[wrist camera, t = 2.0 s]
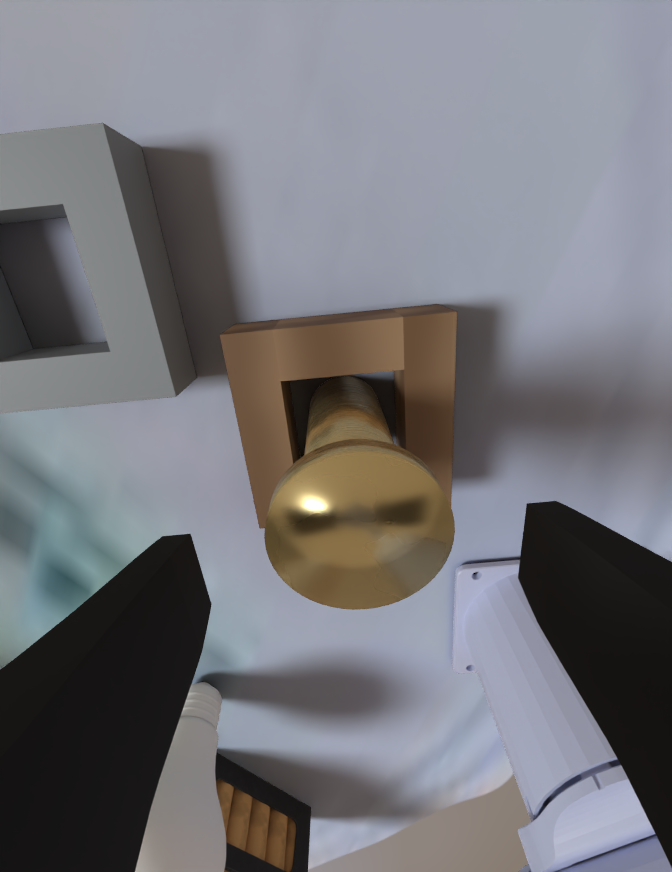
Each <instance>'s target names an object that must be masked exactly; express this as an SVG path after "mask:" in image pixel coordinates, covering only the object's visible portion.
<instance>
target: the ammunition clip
mask: <svg viewBox="0 0 672 872" xmlns="http://www.w3.org/2000/svg"><path fill="white" fill-rule="evenodd" d="M215 778H216V790H217V795H218V799H219V803H220V807H221V811H222V816H223V822H224V827H225V833H226V863H225V869H224V872H308V856H309V837H310V818H311V807H309V806H307V805H306V804H304V803H302V802H300V801H299V800H297V799H295V798H294V797H292V796H290V795H288V794H287V793H285V792H283V791H282V790H280V789H278V788H276V787H275V786H273V785H271V784H269V783H268V782H266V781H264V780H263V779H261V778H259V777H257V776H256V775H254V774H252V773H251V772H249V771H247V770H245V769H244V768H242V767H240V766H238V765H237V764H235V763H233V762H232V761H230V760H228V759H226V758H225V757H223V756H221V755H220V754H218V753H216V762H215Z"/></svg>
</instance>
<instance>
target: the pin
mask: <svg viewBox="0 0 672 872" xmlns="http://www.w3.org/2000/svg"><path fill="white" fill-rule="evenodd" d="M454 533H455V527H454V517H453V513H452V509H451V507H450V504H449V502H448V499H447V497H446V495H445V493H444V491H443V489H442V488H441V486H440V484H439V482H438V480H437V478H436V477H435V475H434V473H433V472H432V471H431V470H430V468H429V467H428V466H427V465H426V464H425V463H424V462H423V461H422V460H421V459H419V458H418V457H417V456H415V455H414V454H412V453H411V452H409V451H407V450H405V449H403V448H401V447H399V446H396V445H394V442H393V439H392V436H391V434H390V431H389V428H388V425H387V423H386V420H385V417H384V414H383V412H382V409H381V406H380V404H379V401H378V398H377V396H376V393H375V392H374V390H373V389H372V388H371V386H370V385H369V384H367V383H366V382H365V381H363V380H361V379H359V378H356V377H353V376H337V377H333V378H331V379H329V380H327V381H325V382H324V383H322V384H321V385H320V386H319V387H318V388H317V389H316V391H315V392H314V394H313V396H312V399H311V403H310V410H309V419H308V428H307V436H306V445H305V454H304V456H303V457H301V458H300V459H299V460H297V461H296V462H295V463H294V464H293V465H292V466H291V467H290V468H289V469H288V470H287V471H286V472H285V473H284V475H283V476H282V477H281V479H280V480H279V482H278V484H277V486H276V488H275V490H274V493H273V495H272V498H271V502H270V507H269V511H268V515H267V520H266V525H265V545H266V550H267V554H268V557H269V559H270V561H271V564H272V566H273V567H274V569H275V570H276V572H277V574H278V575H279V576H280V577H281V578H282V580H283V581H284V582H285V583H286V584H287V585H289V586H290V587H291V588H292V589H293V590H295V591H296V592H298V593H299V594H301V595H302V596H304V597H306V598H308V599H310V600H312V601H315V602H317V603H320V604H323V605H327V606H330V607H336V608H342V609H369V608H377V607H381V606H385V605H389V604H392V603H395V602H398V601H400V600H402V599H405V598H407V597H409V596H411V595H412V594H414V593H416V592H417V591H419V590H420V589H422V588H423V587H424V586H425V585H427V584H428V583H429V582H430V581H431V580H432V579H433V578H434V577H435V576H436V575H437V574H438V572H439V571H440V570H441V569H442V567H443V565H444V564H445V562H446V561H447V558H448V556H449V554H450V552H451V548H452V545H453V541H454Z"/></svg>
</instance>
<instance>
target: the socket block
mask: <svg viewBox="0 0 672 872" xmlns="http://www.w3.org/2000/svg"><path fill="white" fill-rule="evenodd" d="M61 217H67V218H68V221H69V224H70V228H71V231H72V234H73V237H74V240H75V243H76V246H77V249H78V252H79V256H80V259H81V262H82V265H83V268H84V271H85V274H86V277H87V280H88V284H89V287H90V290H91V293H92V296H93V299H94V302H95V305H96V308H97V311H98V315H99V318H100V321H101V324H102V327H103V330H104V333H105V336H106V339H107V342H100V343H89V344H79V345H69V346H59V347H48V348H38V349H33V348H32V345H31V343H30V340H29V338H28V335H27V333H26V330H25V328H24V325H23V323H22V320H21V318H20V315H19V313H18V310H17V308H16V305H15V303H14V300H13V298H12V295H11V293H10V290H9V288H8V285H7V283H6V280H5V278H4V275H3V273H2V270H1V268H0V414H1V413H11V412H22V411H32V410H43V409H53V408H64V407H74V406H85V405H95V404H106V403H116V402H127V401H137V400H148V399H158V398H169V397H176V396H177V395H179V394H180V393H181V392H182V391H183V390H184V389H185V388H186V387H187V386H188V385H190V384H191V383H192V382H193V381H194V380H195V379H196V378H197V377H196V373H195V368H194V364H193V360H192V356H191V352H190V348H189V344H188V339H187V335H186V331H185V327H184V323H183V319H182V314H181V310H180V306H179V302H178V298H177V294H176V289H175V285H174V281H173V277H172V273H171V269H170V264H169V260H168V256H167V252H166V248H165V244H164V239H163V235H162V231H161V227H160V223H159V219H158V214H157V210H156V206H155V202H154V198H153V194H152V189H151V185H150V181H149V177H148V173H147V169H146V165H145V160H144V156H143V152H142V148H141V146H140V145H138V144H137V143H135V142H133V141H132V140H130V139H128V138H127V137H125V136H123V135H122V134H120V133H118V132H117V131H115V130H114V129H112V128H110V127H109V126H107V125H105V124H104V123H98V124H88V125H79V126H70V127H61V128H51V129H42V130H33V131H23V132H14V133H5V134H0V224H3V223H13V222H23V221H32V220H42V219H52V218H61Z"/></svg>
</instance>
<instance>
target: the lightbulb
mask: <svg viewBox="0 0 672 872" xmlns="http://www.w3.org/2000/svg"><path fill="white" fill-rule="evenodd" d="M221 703H222V697H221V695H220V693H219V691H218V690H217V689H215V688H214V687H212V686H211V685H210V684H209V683H206V682H200V683H198V684H192V685H191V687H190V690H189V693H188V696H187V699H186V702H185V705H184V708H183V711H182V713H181V716H180V719H179V722H178V725H177V728H176V731H175V734H174V737H173V740H172V743H171V746H170V749H169V752H168V755H167V758H166V761H165V764H164V767H163V770H162V773H161V776H160V779H159V783H158V786H157V789H156V793H155V796H154V799H153V803H152V806H151V809H150V813H149V817H148V821H147V825H146V829H145V833H144V837H143V841H142V845H141V849H140V853H139V857H138V862H137V866H136V870H135V872H224V869H225V863H226V833H225V827H224V822H223V816H222V811H221V807H220V803H219V799H218V795H217V790H216V778H215V762H216V752H217V746H218V733H217V731H216V730H217V725H218V721H219V714H220V710H221Z"/></svg>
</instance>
